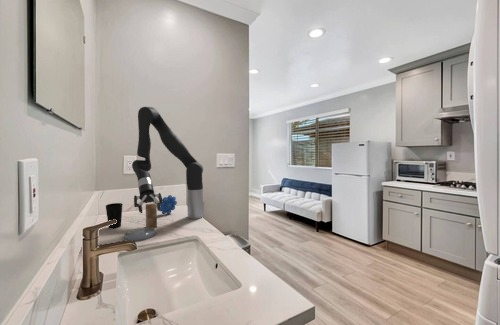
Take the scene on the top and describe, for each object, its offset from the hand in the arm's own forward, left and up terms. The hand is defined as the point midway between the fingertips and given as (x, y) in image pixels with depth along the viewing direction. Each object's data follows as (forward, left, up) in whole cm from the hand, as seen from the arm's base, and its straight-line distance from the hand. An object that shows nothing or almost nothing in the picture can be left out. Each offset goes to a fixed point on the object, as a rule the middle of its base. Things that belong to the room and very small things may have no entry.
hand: (150, 211), depth 121 cm
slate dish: (+7, +12, -8) cm, 16 cm away
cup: (+16, -9, -8) cm, 20 cm away
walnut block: (0, +2, -8) cm, 8 cm away
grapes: (-14, -19, -8) cm, 25 cm away
